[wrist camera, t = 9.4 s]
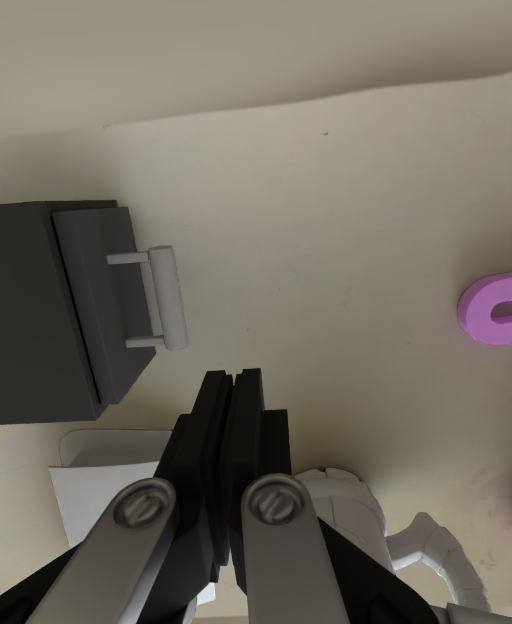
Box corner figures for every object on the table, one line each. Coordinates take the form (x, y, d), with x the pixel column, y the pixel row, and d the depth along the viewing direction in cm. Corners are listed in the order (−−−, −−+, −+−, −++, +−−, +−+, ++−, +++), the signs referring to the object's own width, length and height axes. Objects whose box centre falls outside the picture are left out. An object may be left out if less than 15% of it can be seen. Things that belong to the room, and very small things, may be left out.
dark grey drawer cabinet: (116, 199, 27) (36, 201, 18) (148, 355, 31) (96, 421, 22) (-67, 216, 28) (-232, 225, 19) (-13, 364, 32) (-125, 430, 23)
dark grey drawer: (184, 202, 26) (149, 203, 18) (205, 350, 30) (183, 401, 22) (-48, 222, 27) (-169, 231, 20) (1, 361, 31) (-84, 413, 24)
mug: (265, 466, 34) (260, 712, 18) (440, 456, 33) (606, 712, 17) (276, 545, 38) (279, 812, 21) (434, 539, 37) (567, 819, 20)
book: (93, 585, 41) (75, 624, 38) (53, 428, 34) (27, 456, 30) (217, 590, 41) (212, 630, 37) (204, 430, 33) (196, 459, 30)
